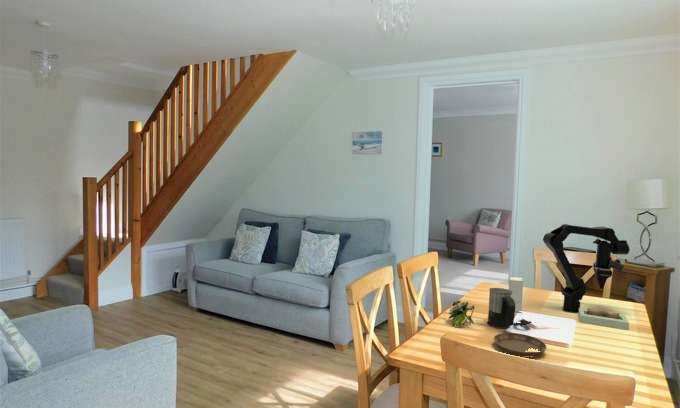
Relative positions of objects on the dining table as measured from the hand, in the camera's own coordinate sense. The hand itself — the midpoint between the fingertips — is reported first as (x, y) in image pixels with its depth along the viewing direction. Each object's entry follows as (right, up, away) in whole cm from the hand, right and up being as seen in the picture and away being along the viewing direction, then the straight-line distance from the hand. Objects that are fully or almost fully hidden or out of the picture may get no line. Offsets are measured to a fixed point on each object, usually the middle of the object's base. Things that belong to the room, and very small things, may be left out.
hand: (600, 286), depth 211 cm
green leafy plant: (-72, -11, -25) cm, 77 cm away
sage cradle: (-8, -13, -14) cm, 21 cm away
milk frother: (-53, -12, -25) cm, 60 cm away
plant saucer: (-58, -14, -49) cm, 77 cm away
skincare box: (-42, -11, -2) cm, 43 cm away
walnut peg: (-8, -12, -14) cm, 20 cm away
